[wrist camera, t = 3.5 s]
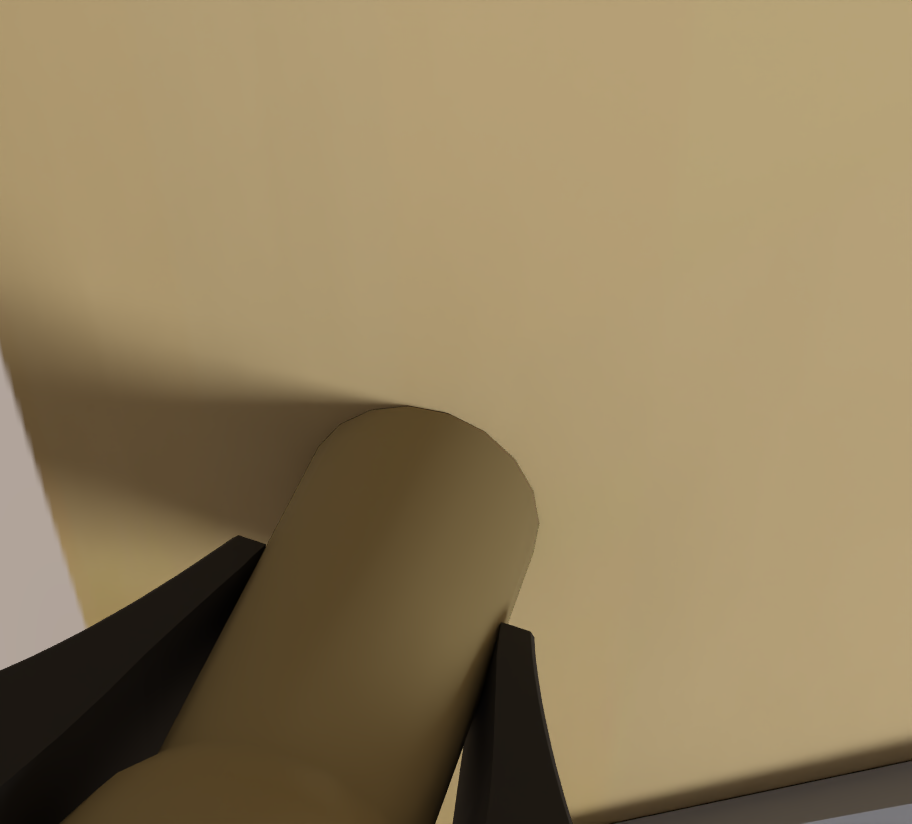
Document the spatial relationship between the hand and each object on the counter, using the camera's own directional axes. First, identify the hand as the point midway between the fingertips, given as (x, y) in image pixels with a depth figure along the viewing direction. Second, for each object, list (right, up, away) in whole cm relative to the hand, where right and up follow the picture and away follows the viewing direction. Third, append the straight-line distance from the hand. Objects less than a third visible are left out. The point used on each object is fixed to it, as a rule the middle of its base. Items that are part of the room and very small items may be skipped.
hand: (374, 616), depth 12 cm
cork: (+1, +2, +3) cm, 4 cm away
